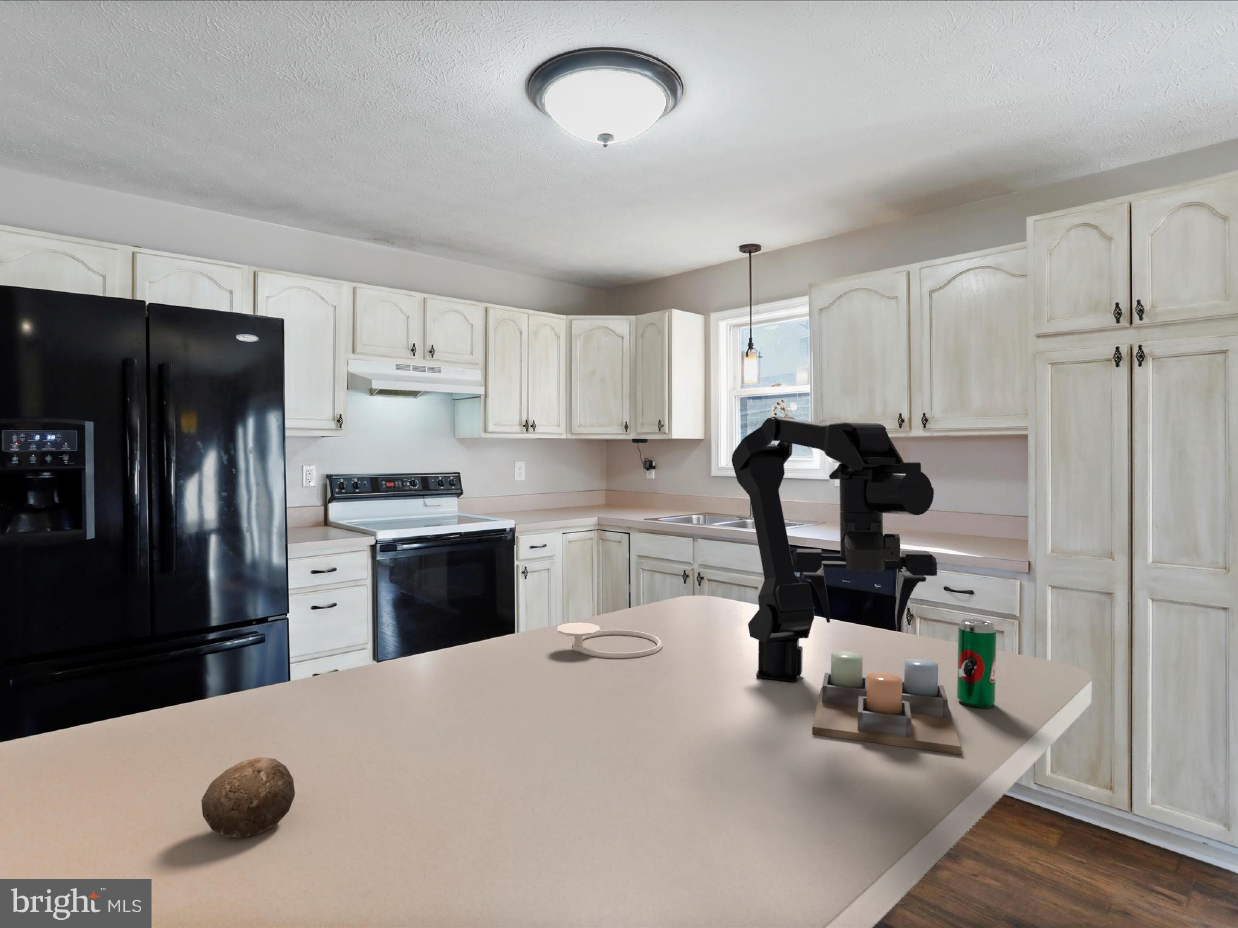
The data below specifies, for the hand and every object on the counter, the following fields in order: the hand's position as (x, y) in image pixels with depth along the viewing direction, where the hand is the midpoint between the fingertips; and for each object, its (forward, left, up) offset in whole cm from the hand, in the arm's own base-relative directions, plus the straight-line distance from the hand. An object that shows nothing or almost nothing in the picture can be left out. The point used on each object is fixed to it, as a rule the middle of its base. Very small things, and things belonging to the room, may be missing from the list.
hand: (862, 623), depth 100 cm
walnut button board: (+3, -1, -13) cm, 13 cm away
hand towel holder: (-45, +20, -13) cm, 51 cm away
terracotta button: (+3, -5, -10) cm, 11 cm away
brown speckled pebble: (-56, -52, -13) cm, 78 cm away
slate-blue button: (+8, +4, -10) cm, 13 cm away
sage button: (-2, +4, -10) cm, 11 cm away
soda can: (+16, +11, -13) cm, 23 cm away
